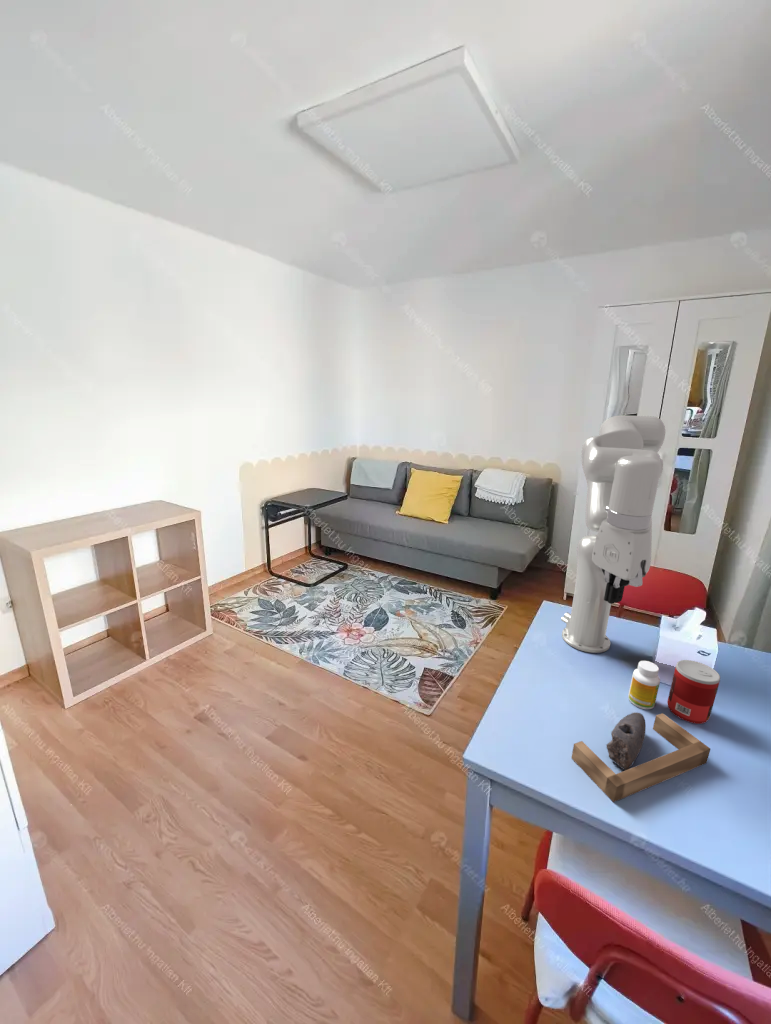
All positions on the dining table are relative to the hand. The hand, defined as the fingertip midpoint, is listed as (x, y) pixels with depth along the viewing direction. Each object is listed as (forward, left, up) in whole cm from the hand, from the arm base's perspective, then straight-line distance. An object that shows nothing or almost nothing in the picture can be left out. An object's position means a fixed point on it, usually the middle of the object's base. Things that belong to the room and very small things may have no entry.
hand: (612, 600), depth 92 cm
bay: (+15, -4, -26) cm, 31 cm away
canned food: (+9, +18, -27) cm, 34 cm away
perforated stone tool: (+12, -4, -27) cm, 30 cm away
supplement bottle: (+3, +11, -27) cm, 29 cm away
